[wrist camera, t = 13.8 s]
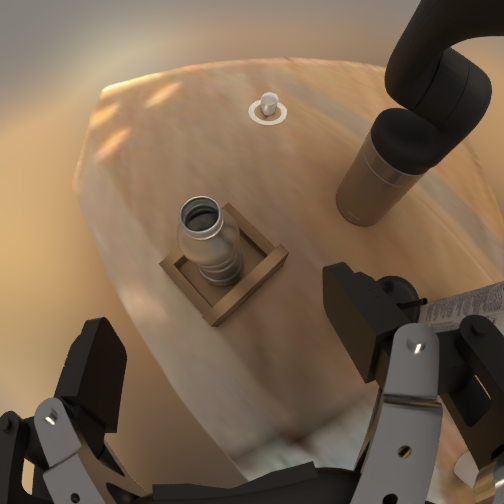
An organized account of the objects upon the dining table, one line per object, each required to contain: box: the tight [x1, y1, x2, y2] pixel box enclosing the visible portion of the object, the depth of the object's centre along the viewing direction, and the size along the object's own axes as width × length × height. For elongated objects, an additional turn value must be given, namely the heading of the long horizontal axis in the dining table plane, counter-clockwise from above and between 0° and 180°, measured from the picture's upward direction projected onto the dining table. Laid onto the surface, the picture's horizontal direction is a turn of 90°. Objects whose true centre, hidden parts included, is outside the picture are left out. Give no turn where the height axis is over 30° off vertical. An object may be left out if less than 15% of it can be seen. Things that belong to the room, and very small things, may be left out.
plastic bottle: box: [177, 196, 244, 286], centre depth 33 cm, size 6×7×20 cm
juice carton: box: [418, 281, 504, 336], centre depth 27 cm, size 9×10×27 cm
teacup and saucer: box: [248, 92, 287, 125], centre depth 51 cm, size 9×8×4 cm
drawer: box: [159, 202, 289, 327], centre depth 40 cm, size 14×12×7 cm
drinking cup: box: [376, 276, 427, 323], centre depth 32 cm, size 8×8×20 cm
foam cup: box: [454, 451, 479, 489], centre depth 25 cm, size 10×9×13 cm
